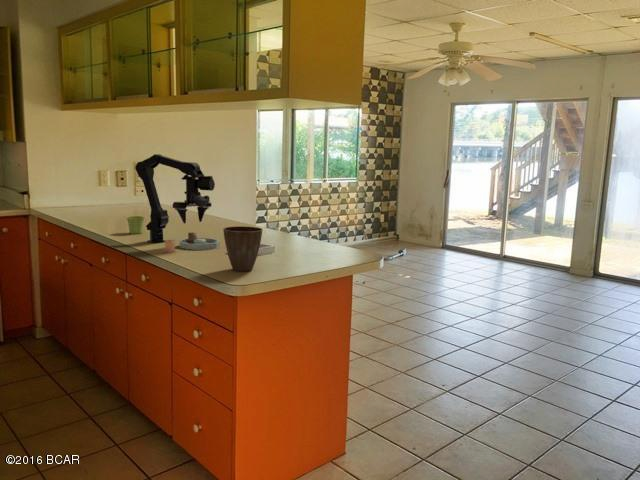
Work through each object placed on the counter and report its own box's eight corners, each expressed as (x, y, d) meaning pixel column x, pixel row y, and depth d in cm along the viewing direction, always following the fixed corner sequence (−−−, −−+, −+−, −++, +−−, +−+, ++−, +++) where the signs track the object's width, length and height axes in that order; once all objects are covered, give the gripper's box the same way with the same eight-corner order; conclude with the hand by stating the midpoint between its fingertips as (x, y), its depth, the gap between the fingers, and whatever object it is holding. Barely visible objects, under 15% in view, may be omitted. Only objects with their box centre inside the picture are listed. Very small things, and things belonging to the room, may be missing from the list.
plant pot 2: (217, 267, 210) (217, 226, 207) (253, 264, 217) (253, 225, 214) (230, 275, 197) (231, 232, 194) (267, 272, 204) (268, 230, 202)
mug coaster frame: (228, 252, 240) (228, 245, 240) (253, 248, 253) (253, 241, 252) (249, 257, 232) (249, 250, 231) (275, 252, 244) (275, 246, 243)
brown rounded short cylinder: (186, 243, 255) (186, 232, 255) (193, 242, 258) (193, 232, 258) (191, 244, 253) (191, 233, 252) (198, 243, 256) (198, 232, 255)
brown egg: (163, 251, 237) (163, 240, 236) (171, 250, 240) (171, 239, 239) (168, 252, 235) (168, 241, 234) (176, 251, 238) (176, 240, 237)
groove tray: (172, 245, 251) (172, 239, 251) (202, 241, 265) (202, 235, 264) (196, 251, 240) (196, 244, 240) (226, 246, 254) (226, 240, 253)
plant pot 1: (122, 233, 280) (122, 217, 279) (133, 231, 289) (132, 215, 288) (138, 235, 278) (138, 218, 277) (148, 232, 287) (148, 216, 286)
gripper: (186, 191, 239) (187, 226, 242) (218, 190, 254) (218, 222, 256) (171, 189, 246) (172, 223, 249) (203, 188, 261) (204, 220, 263)
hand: (192, 222), depth 254 cm, fingers open, 9 cm apart
